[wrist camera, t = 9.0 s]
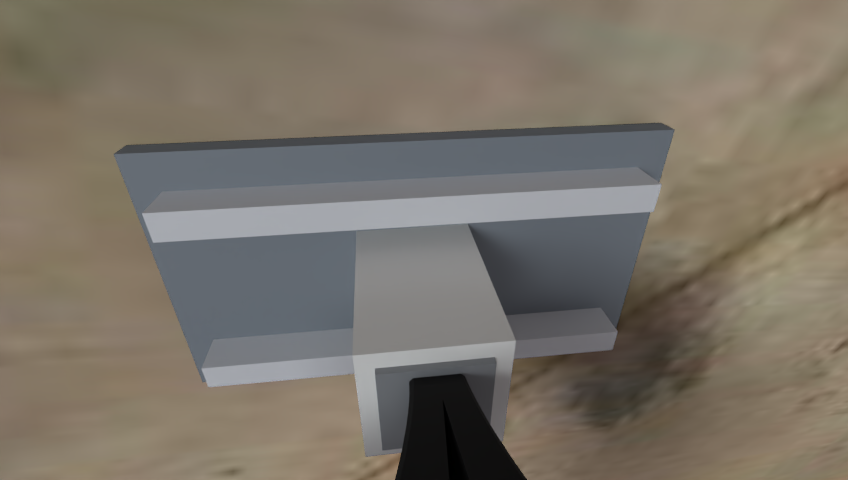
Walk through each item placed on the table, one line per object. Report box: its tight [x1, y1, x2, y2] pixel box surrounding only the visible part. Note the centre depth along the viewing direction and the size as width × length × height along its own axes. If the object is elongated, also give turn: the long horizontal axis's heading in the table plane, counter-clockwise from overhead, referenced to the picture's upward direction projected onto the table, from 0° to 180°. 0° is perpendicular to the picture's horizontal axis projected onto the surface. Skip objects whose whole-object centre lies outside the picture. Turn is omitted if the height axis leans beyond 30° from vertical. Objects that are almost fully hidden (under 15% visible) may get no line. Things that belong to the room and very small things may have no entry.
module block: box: [352, 224, 516, 457], centre depth 14 cm, size 4×4×6 cm
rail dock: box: [114, 123, 674, 387], centre depth 16 cm, size 10×18×2 cm, turn 90°
